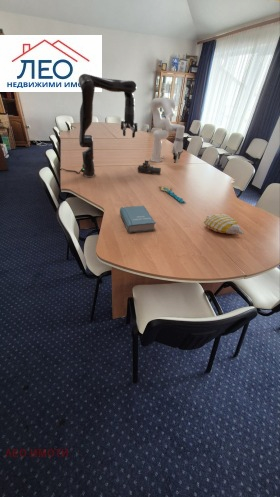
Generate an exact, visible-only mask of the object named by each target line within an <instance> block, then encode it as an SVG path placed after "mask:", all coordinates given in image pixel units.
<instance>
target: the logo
mask: <svg viewBox="0 0 280 497" xmlns="http://www.w3.org/2000/svg"><path fill="white" fill-rule="evenodd" d="M158 187H159V188H160V190H161V191H162V192H166V193H167V194H168V195H170V196H171V197H172V198H173V199H175V200H176V201H178V202H179V203H180V204H186V201H185V200H184V199H183V198H182V197H179V196H178V195H177V194H175V192H173V191H172V190H171V189H172V187H168V186H167V185H165V186H163V185H159V186H158Z"/></svg>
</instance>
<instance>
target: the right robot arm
mask: <svg viewBox="0 0 280 497" xmlns="http://www.w3.org/2000/svg"><path fill="white" fill-rule="evenodd" d="M176 106H177V104H176V101H175V100H174V99H172V98H167V97H154V98H153V99H152V100H151V104H150V108H151V113H152V122H153V127H154V129H155V130H154V131H153V133H152V135H153V137H152V139H153V140H152V141H153V143H152V153H151V154H152V155H151V158H150V162H153V163H161V162H162V160H163V159H165V158H164V156H162V146H163V142H162V141H163V140H167V139H168V138H169V134H175V138H174V141H173V144H172V150H171V153H172V155H173V157H172V160H173V161H174V160H176V153H179V158H178V160H180V157H181V156H182V153H184V151H183V148H184V134H185V128H186V127H185V125H182V124H179V123H172V122H171V119H172V118H173V117H174V116H175V111H174V110H175V109H176ZM160 109H162V111H163V113H164V115H165V118H164V117H162V113H161V110H160Z"/></svg>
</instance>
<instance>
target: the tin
mask: <svg viewBox="0 0 280 497" xmlns="http://www.w3.org/2000/svg"><path fill="white" fill-rule="evenodd" d="M178 158H179V153H178V152H177V153H176V160H174V159H173V164H178V163H179V159H180V158H179V159H178Z"/></svg>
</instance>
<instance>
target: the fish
mask: <svg viewBox="0 0 280 497" xmlns="http://www.w3.org/2000/svg"><path fill="white" fill-rule="evenodd" d="M203 223H204V225H205V226H206V227H207V228H208V229H210V230H212V231H214V232H217V233H222V234H227V235H237V234H239V235H244V234H245V233H244V232H243V231H242V229H241V227H240V225H239V224H238V222H237V219H236V218H235V217H232V216H230V215H229V214H228V213H216V214H210V215H207V216H206V218H205V219H204V220H203Z"/></svg>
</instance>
